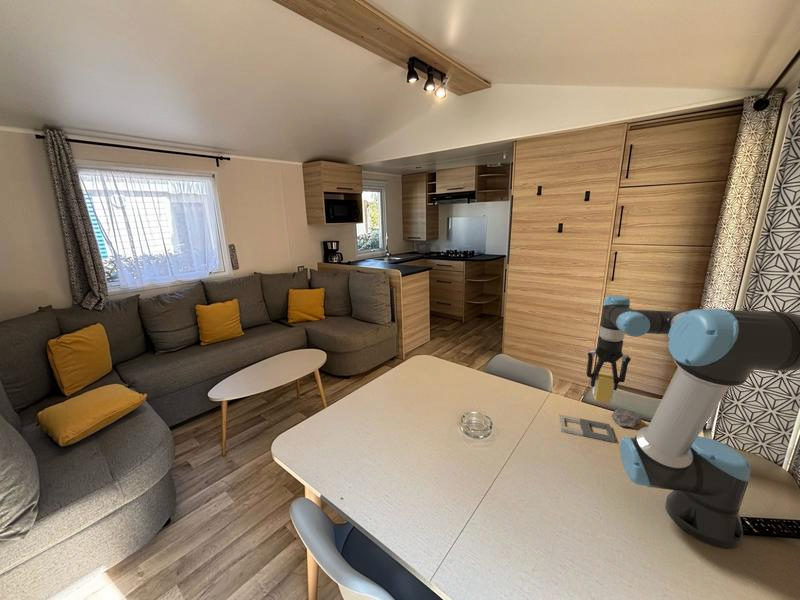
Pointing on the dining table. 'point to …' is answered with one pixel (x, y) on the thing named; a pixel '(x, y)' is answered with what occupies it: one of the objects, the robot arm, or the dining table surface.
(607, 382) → the block
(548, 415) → the dining table surface
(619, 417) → the rock
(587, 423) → the grey flat frame
